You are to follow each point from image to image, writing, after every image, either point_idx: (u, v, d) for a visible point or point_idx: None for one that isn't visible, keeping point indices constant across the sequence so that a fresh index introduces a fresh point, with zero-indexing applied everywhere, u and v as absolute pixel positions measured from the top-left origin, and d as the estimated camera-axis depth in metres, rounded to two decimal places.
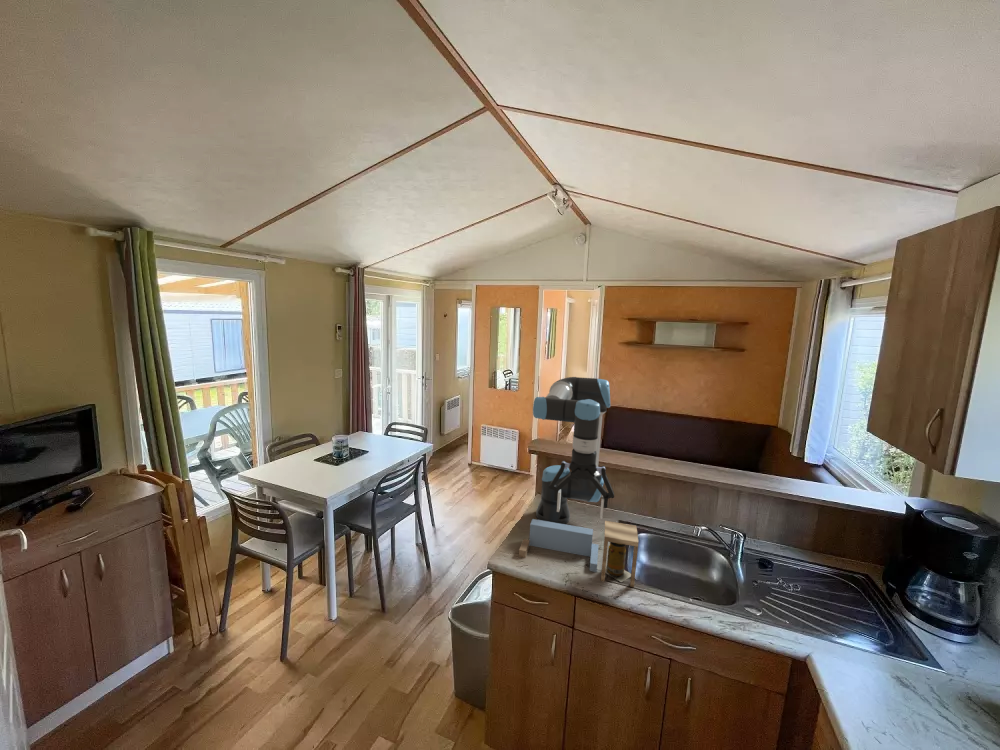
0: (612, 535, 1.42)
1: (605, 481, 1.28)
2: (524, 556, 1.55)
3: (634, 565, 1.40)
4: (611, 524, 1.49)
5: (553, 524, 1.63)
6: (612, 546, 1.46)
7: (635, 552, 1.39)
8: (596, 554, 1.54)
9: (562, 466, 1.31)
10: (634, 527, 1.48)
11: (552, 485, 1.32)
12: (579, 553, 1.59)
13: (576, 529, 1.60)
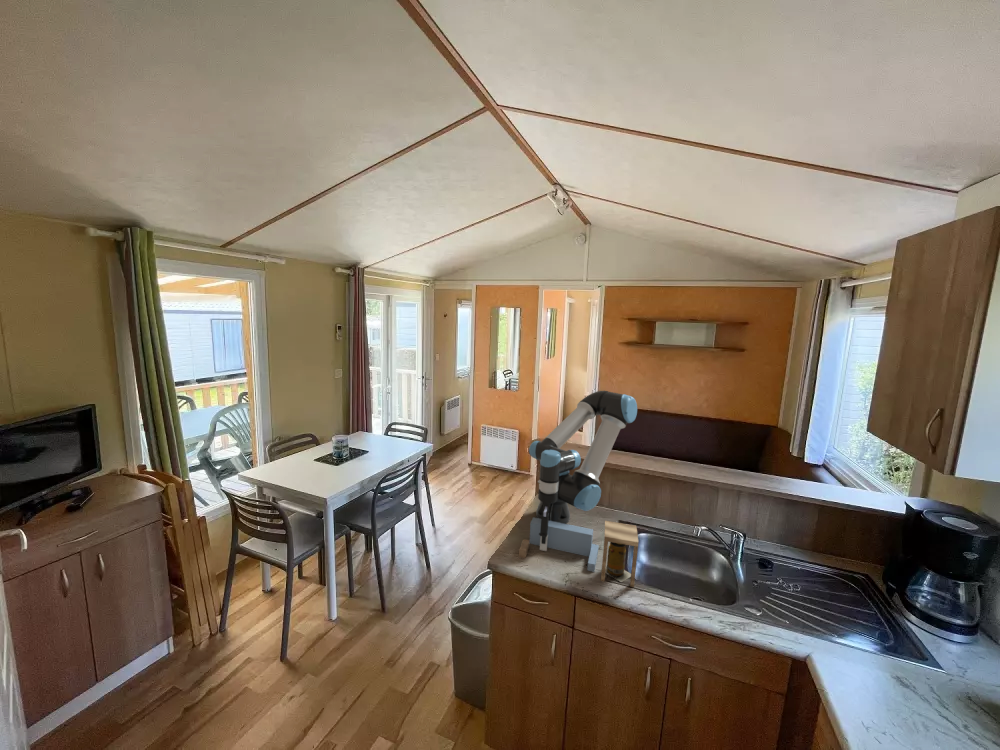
0: (612, 535, 1.42)
1: (541, 520, 1.57)
2: (524, 556, 1.55)
3: (634, 565, 1.40)
4: (611, 524, 1.49)
5: (554, 523, 1.64)
6: (612, 546, 1.46)
7: (635, 552, 1.39)
8: (595, 554, 1.54)
9: None
10: (634, 527, 1.48)
11: None
12: (579, 553, 1.59)
13: (576, 529, 1.60)
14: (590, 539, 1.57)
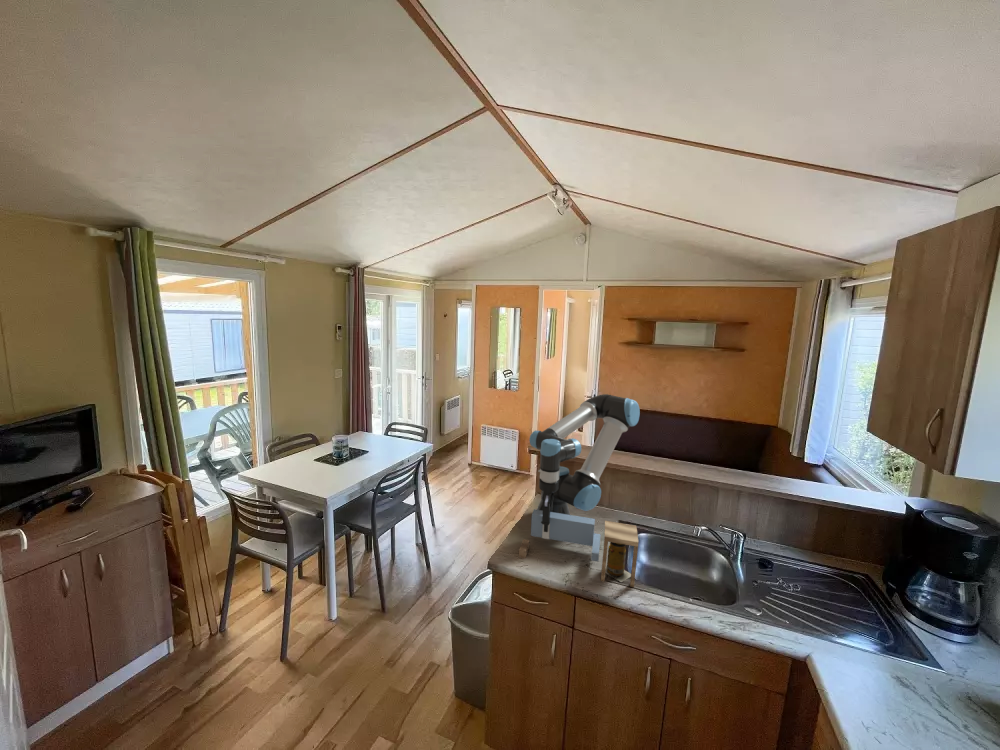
0: (612, 535, 1.42)
1: (542, 510, 1.57)
2: (524, 556, 1.55)
3: (634, 565, 1.40)
4: (611, 524, 1.49)
5: (555, 514, 1.63)
6: (612, 546, 1.46)
7: (635, 552, 1.39)
8: (598, 544, 1.53)
9: None
10: (634, 527, 1.48)
11: None
12: (581, 543, 1.58)
13: (578, 519, 1.59)
14: (592, 529, 1.56)
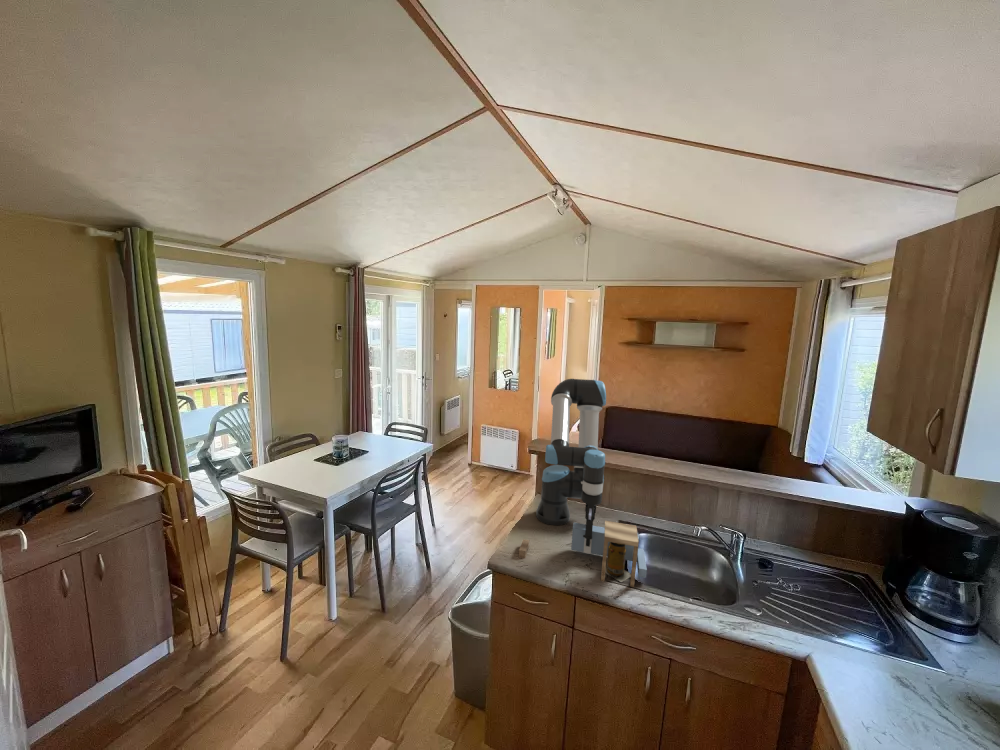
0: (612, 535, 1.42)
1: (586, 523, 1.52)
2: (524, 556, 1.55)
3: (634, 565, 1.40)
4: (611, 524, 1.49)
5: (596, 527, 1.58)
6: (612, 546, 1.46)
7: (635, 552, 1.39)
8: (643, 559, 1.49)
9: None
10: (634, 527, 1.48)
11: None
12: None
13: None
14: None
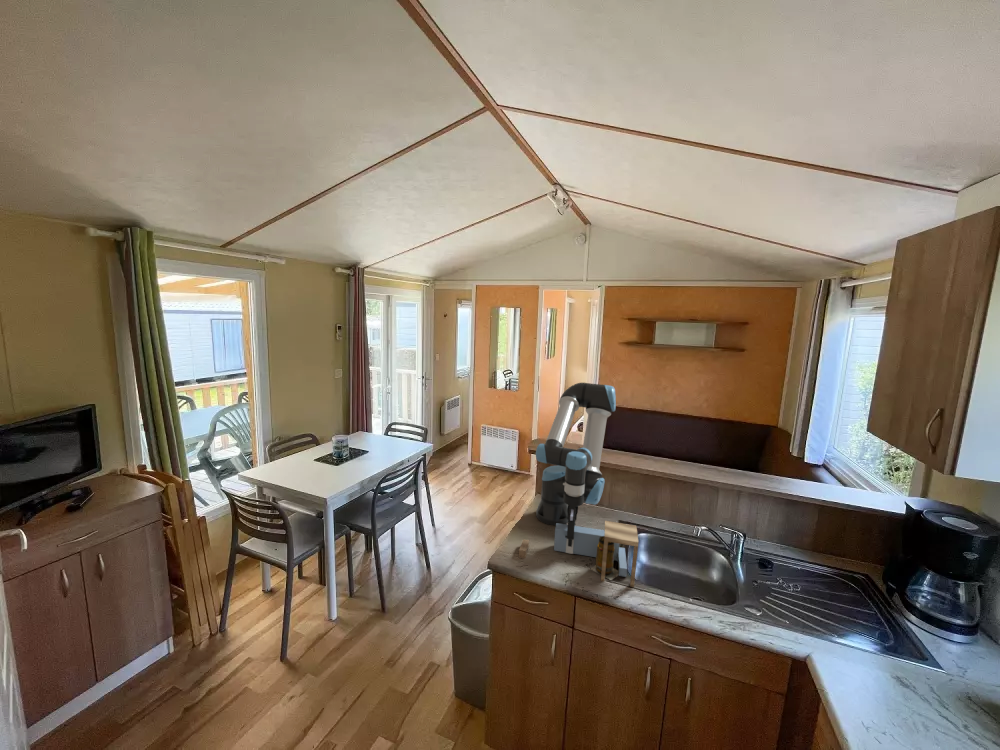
0: (612, 535, 1.42)
1: None
2: (524, 556, 1.55)
3: (634, 565, 1.40)
4: (611, 524, 1.49)
5: (578, 528, 1.60)
6: (601, 545, 1.47)
7: (635, 552, 1.39)
8: (624, 558, 1.51)
9: None
10: (634, 527, 1.48)
11: None
12: None
13: (602, 533, 1.57)
14: (618, 543, 1.54)
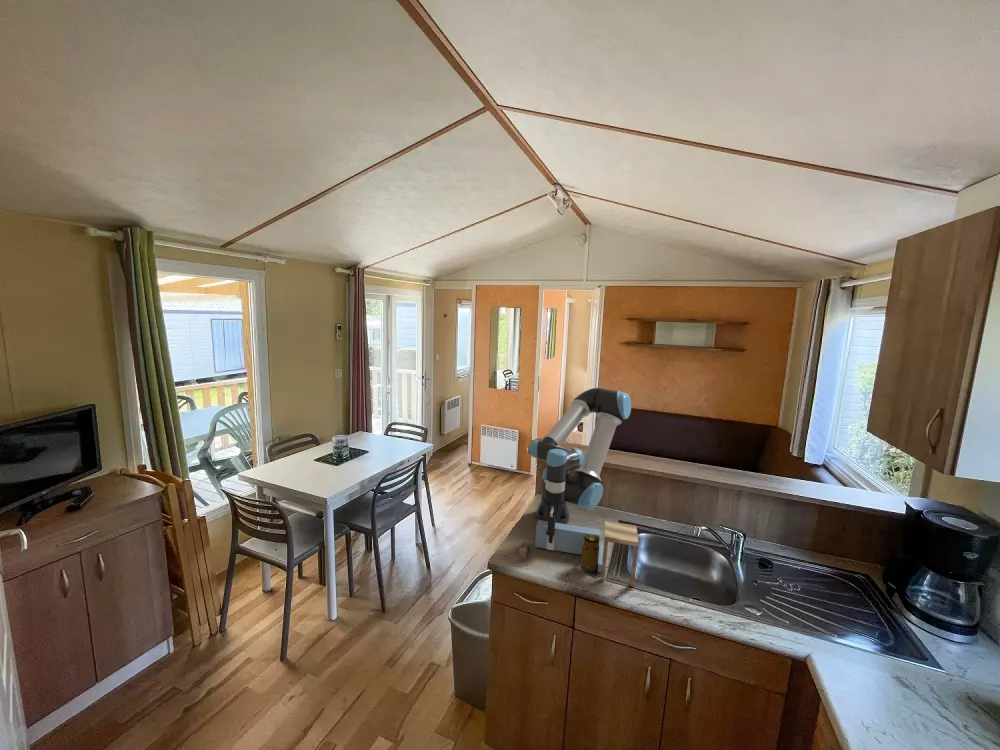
0: (612, 535, 1.42)
1: (548, 520, 1.56)
2: (524, 556, 1.55)
3: (634, 565, 1.40)
4: (611, 524, 1.49)
5: (560, 524, 1.61)
6: (586, 543, 1.48)
7: (635, 552, 1.39)
8: None
9: None
10: (634, 527, 1.48)
11: None
12: None
13: (583, 530, 1.58)
14: None
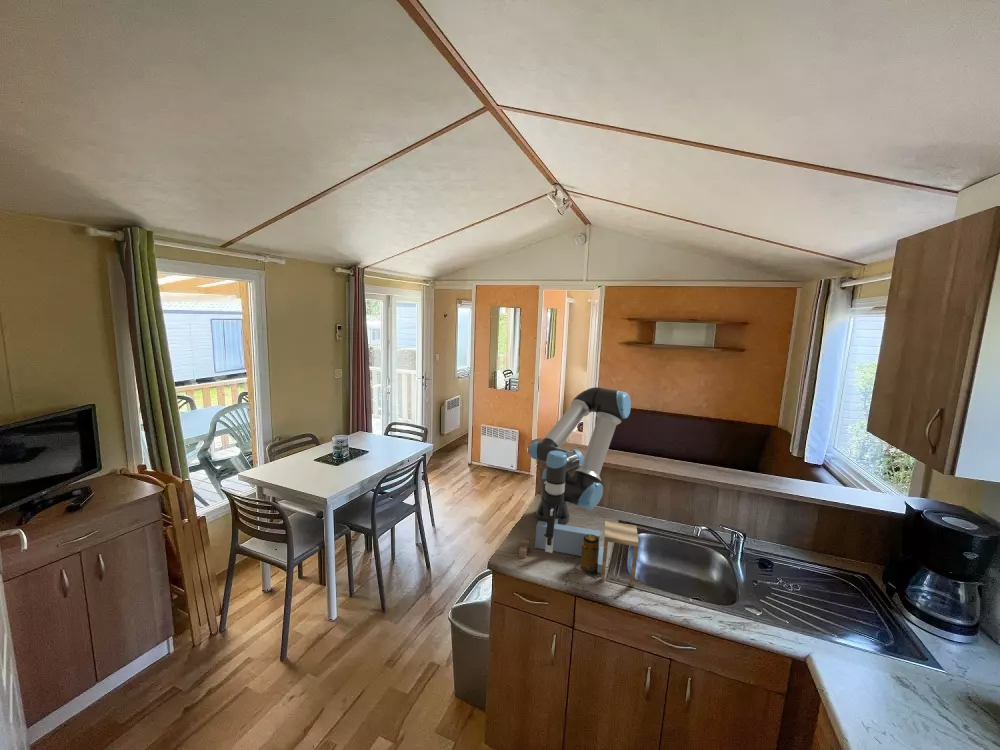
0: (612, 535, 1.42)
1: None
2: (524, 556, 1.55)
3: (634, 565, 1.40)
4: (611, 524, 1.49)
5: (560, 525, 1.62)
6: (586, 543, 1.48)
7: (635, 552, 1.39)
8: None
9: None
10: (634, 527, 1.48)
11: None
12: None
13: (583, 531, 1.58)
14: None
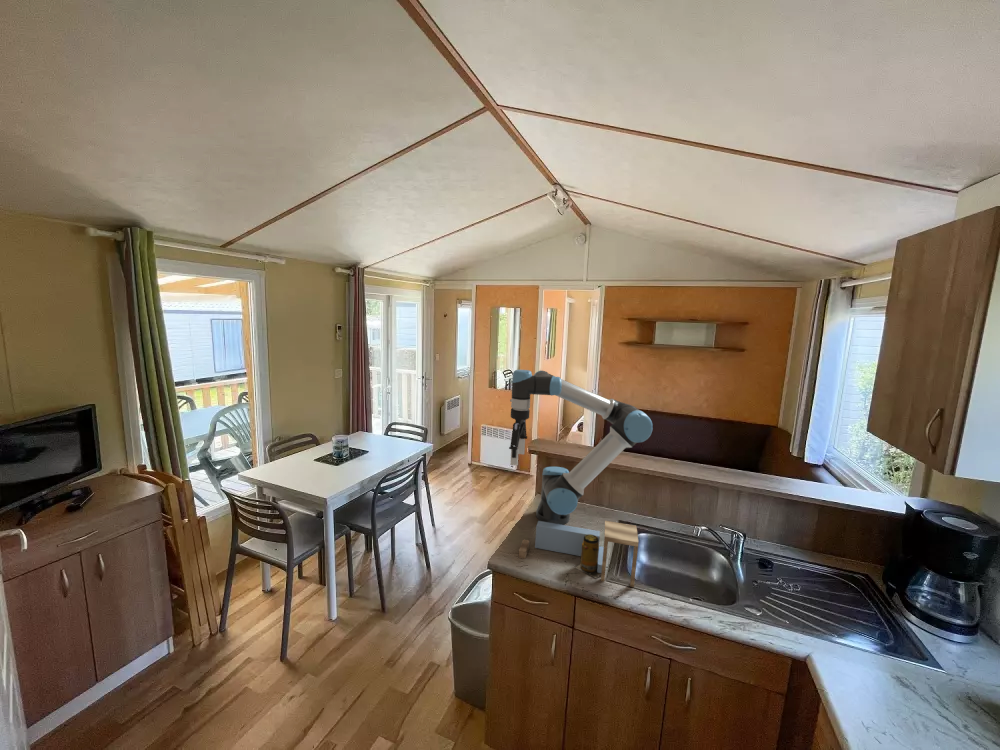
0: (612, 535, 1.42)
1: (512, 434, 1.60)
2: (524, 557, 1.55)
3: (634, 565, 1.40)
4: (611, 524, 1.49)
5: (560, 525, 1.62)
6: (586, 543, 1.47)
7: (635, 552, 1.39)
8: None
9: None
10: (634, 527, 1.48)
11: None
12: None
13: (583, 531, 1.58)
14: (598, 541, 1.55)
